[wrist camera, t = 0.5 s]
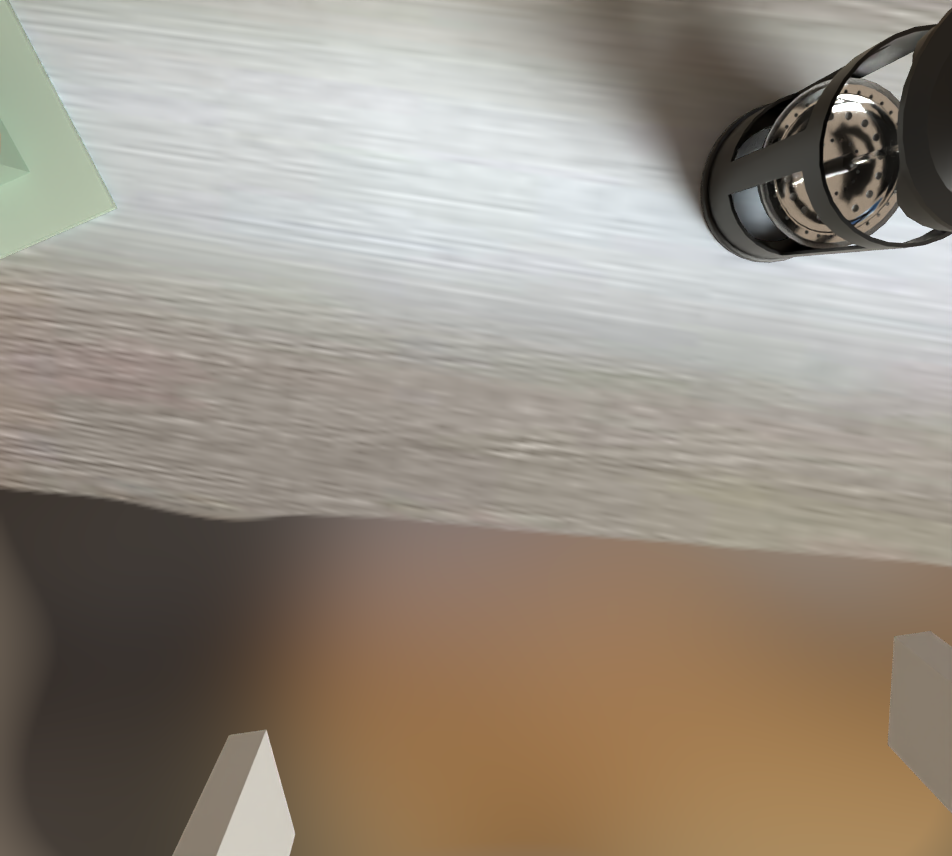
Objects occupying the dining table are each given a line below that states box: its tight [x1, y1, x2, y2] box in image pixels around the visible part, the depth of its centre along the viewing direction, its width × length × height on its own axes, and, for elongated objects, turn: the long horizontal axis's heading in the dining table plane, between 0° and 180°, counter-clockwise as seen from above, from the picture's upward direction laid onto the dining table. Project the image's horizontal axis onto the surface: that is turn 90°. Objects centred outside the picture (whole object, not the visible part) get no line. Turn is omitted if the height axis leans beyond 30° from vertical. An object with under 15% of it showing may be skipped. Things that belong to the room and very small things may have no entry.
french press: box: [701, 8, 952, 262], centre depth 26 cm, size 12×9×23 cm
